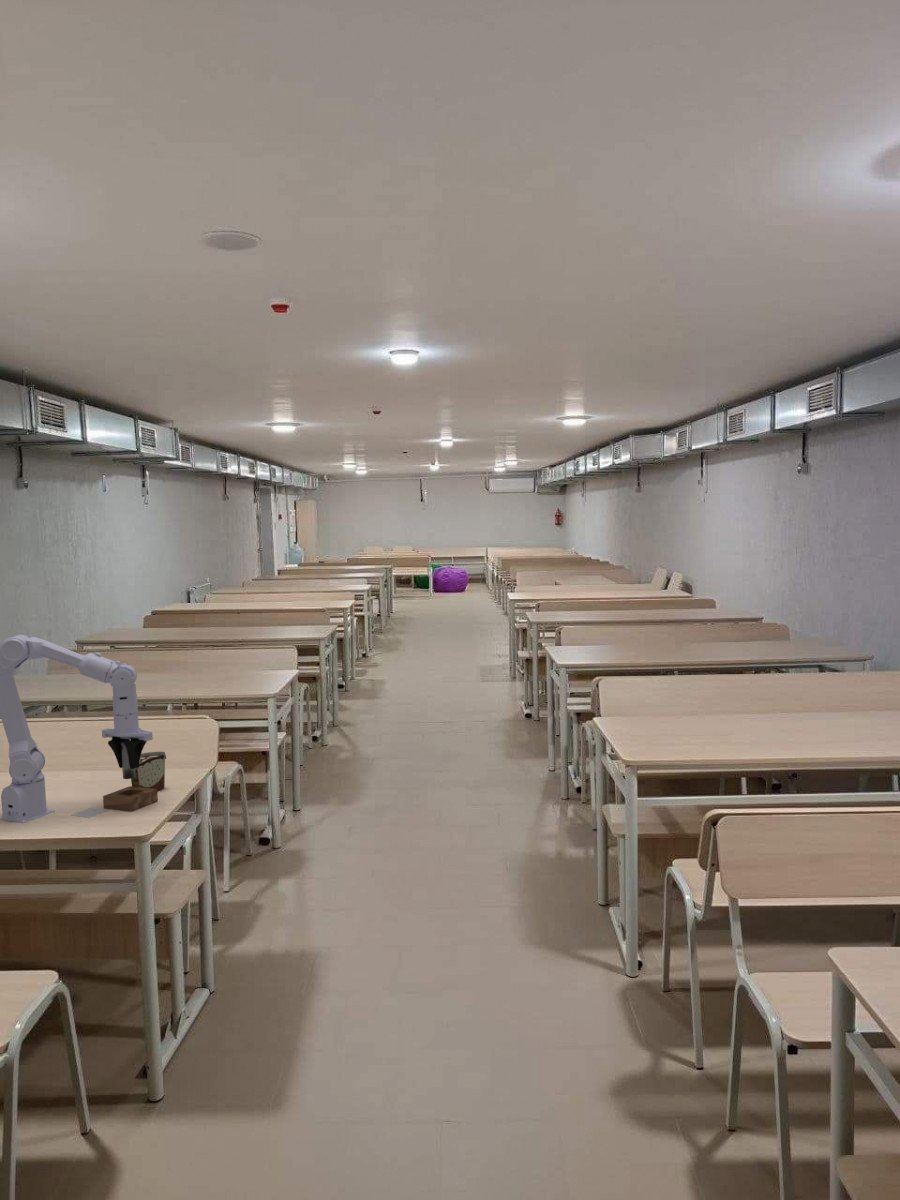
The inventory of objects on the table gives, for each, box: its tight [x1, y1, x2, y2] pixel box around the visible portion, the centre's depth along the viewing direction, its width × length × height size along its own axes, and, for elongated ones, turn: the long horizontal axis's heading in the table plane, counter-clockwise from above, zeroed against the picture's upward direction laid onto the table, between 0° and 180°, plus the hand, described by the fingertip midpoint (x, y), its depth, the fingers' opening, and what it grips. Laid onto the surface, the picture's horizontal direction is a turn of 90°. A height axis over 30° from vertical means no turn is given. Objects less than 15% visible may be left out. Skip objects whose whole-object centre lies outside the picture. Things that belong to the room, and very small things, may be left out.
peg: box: [121, 740, 136, 780], centre depth 220 cm, size 3×3×9 cm
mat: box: [70, 807, 109, 819], centre depth 215 cm, size 6×6×1 cm
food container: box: [130, 751, 167, 793], centre depth 232 cm, size 12×6×10 cm, turn 160°
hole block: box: [102, 785, 159, 813], centre depth 221 cm, size 9×9×4 cm
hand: (128, 767), depth 220 cm, fingers closed on peg, 3 cm apart
